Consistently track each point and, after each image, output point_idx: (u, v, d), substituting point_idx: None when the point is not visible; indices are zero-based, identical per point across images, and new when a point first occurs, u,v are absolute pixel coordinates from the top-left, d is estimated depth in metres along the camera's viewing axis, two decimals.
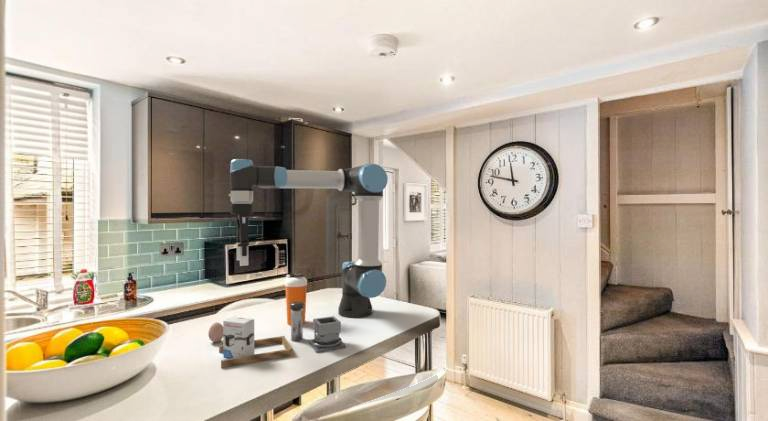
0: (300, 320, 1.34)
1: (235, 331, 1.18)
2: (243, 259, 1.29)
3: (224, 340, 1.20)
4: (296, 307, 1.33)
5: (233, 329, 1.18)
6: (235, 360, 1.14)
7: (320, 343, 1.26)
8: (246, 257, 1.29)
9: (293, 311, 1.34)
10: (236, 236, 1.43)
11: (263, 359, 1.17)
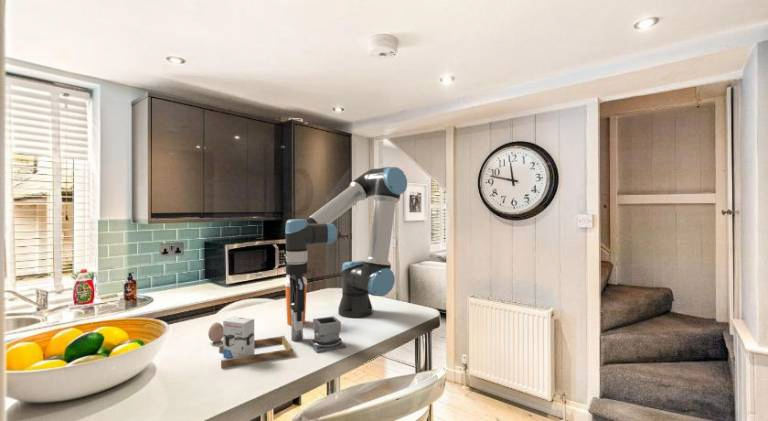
0: None
1: (235, 331, 1.18)
2: (298, 323, 1.33)
3: (224, 340, 1.20)
4: None
5: (233, 329, 1.18)
6: (235, 360, 1.14)
7: (320, 343, 1.26)
8: (300, 322, 1.34)
9: None
10: (290, 300, 1.40)
11: (263, 359, 1.17)
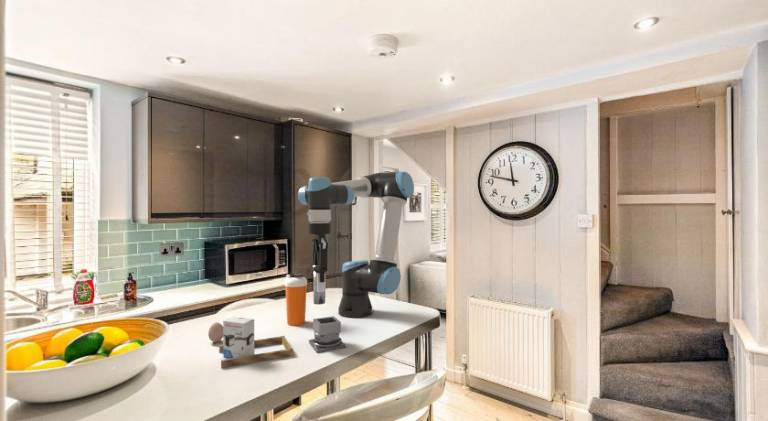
0: None
1: (235, 331, 1.18)
2: (320, 285, 1.28)
3: (224, 340, 1.20)
4: None
5: (233, 329, 1.18)
6: (235, 360, 1.14)
7: (320, 343, 1.26)
8: (323, 283, 1.29)
9: (316, 273, 1.29)
10: (312, 262, 1.35)
11: (263, 359, 1.17)
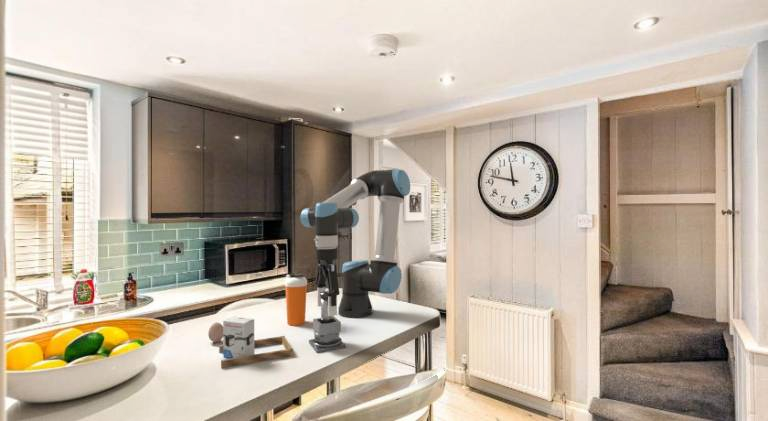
0: None
1: (235, 331, 1.18)
2: (332, 308, 1.24)
3: (224, 340, 1.20)
4: (327, 296, 1.28)
5: (233, 329, 1.18)
6: (235, 360, 1.14)
7: (320, 343, 1.26)
8: (335, 307, 1.24)
9: (324, 301, 1.28)
10: (316, 280, 1.37)
11: (263, 359, 1.17)
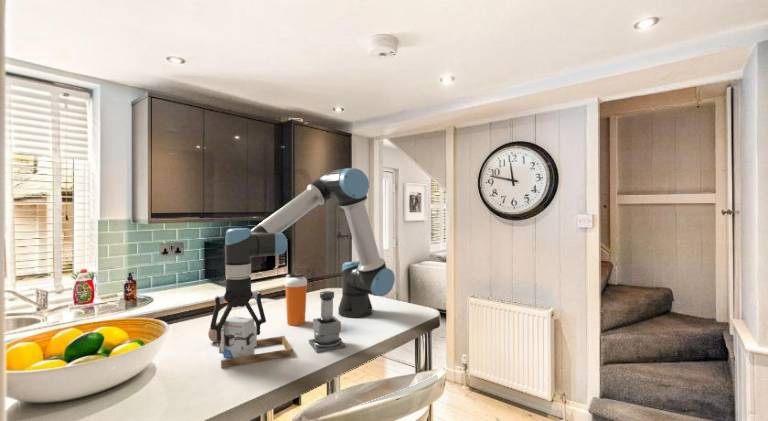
0: (330, 310, 1.29)
1: (235, 331, 1.18)
2: None
3: (224, 340, 1.20)
4: (327, 297, 1.27)
5: (233, 329, 1.18)
6: (235, 360, 1.14)
7: (320, 343, 1.26)
8: (221, 342, 1.18)
9: (323, 301, 1.28)
10: None
11: (263, 359, 1.17)
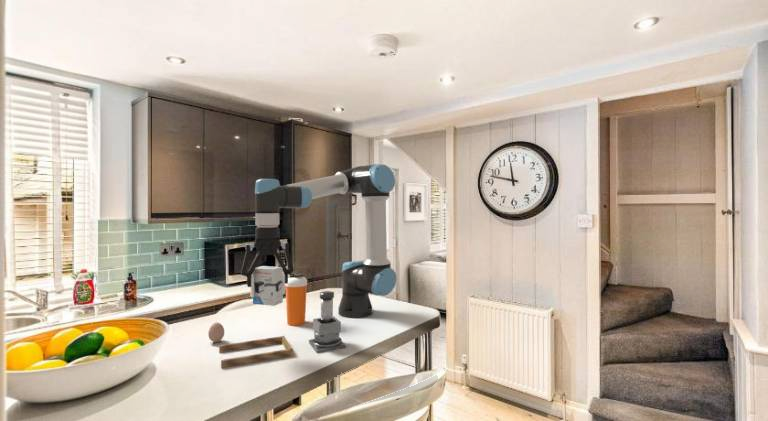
0: (330, 310, 1.29)
1: (265, 277, 1.22)
2: (250, 289, 1.22)
3: None
4: (326, 297, 1.27)
5: (263, 276, 1.22)
6: (235, 360, 1.14)
7: (320, 343, 1.26)
8: (251, 288, 1.21)
9: (323, 301, 1.28)
10: None
11: (263, 359, 1.17)
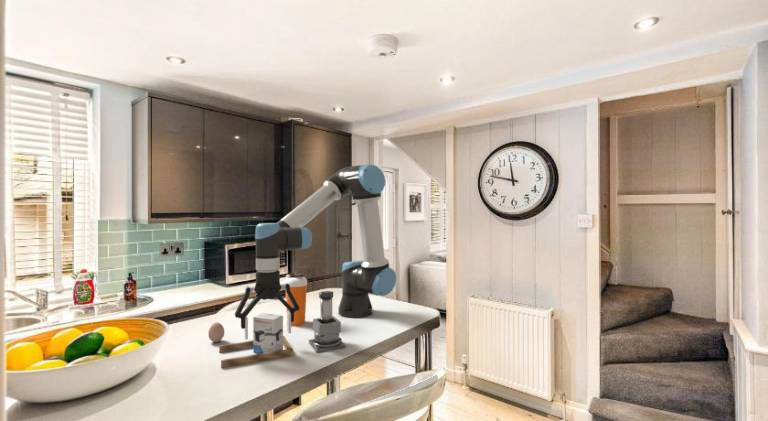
0: (330, 310, 1.29)
1: (265, 327, 1.22)
2: None
3: (254, 336, 1.24)
4: (326, 296, 1.28)
5: (263, 325, 1.22)
6: (235, 360, 1.14)
7: (320, 343, 1.26)
8: (245, 330, 1.21)
9: (323, 301, 1.28)
10: None
11: (263, 359, 1.17)
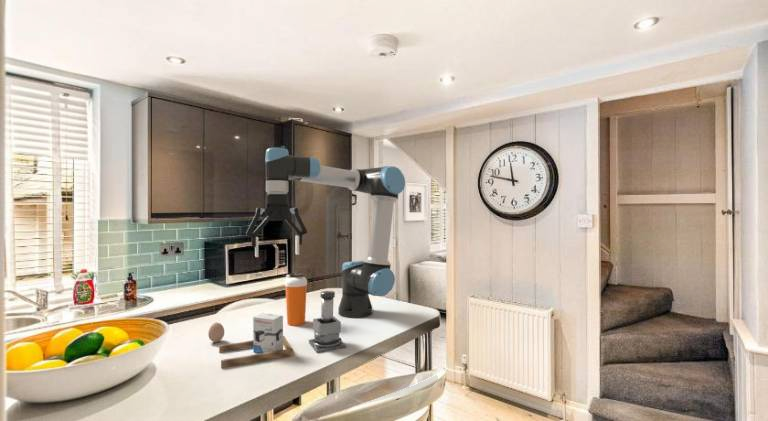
0: (331, 310, 1.29)
1: (265, 327, 1.22)
2: (255, 249, 1.27)
3: (254, 336, 1.24)
4: (327, 296, 1.28)
5: (263, 325, 1.22)
6: (235, 360, 1.14)
7: (320, 343, 1.26)
8: (255, 248, 1.27)
9: (324, 300, 1.28)
10: None
11: (263, 359, 1.17)
